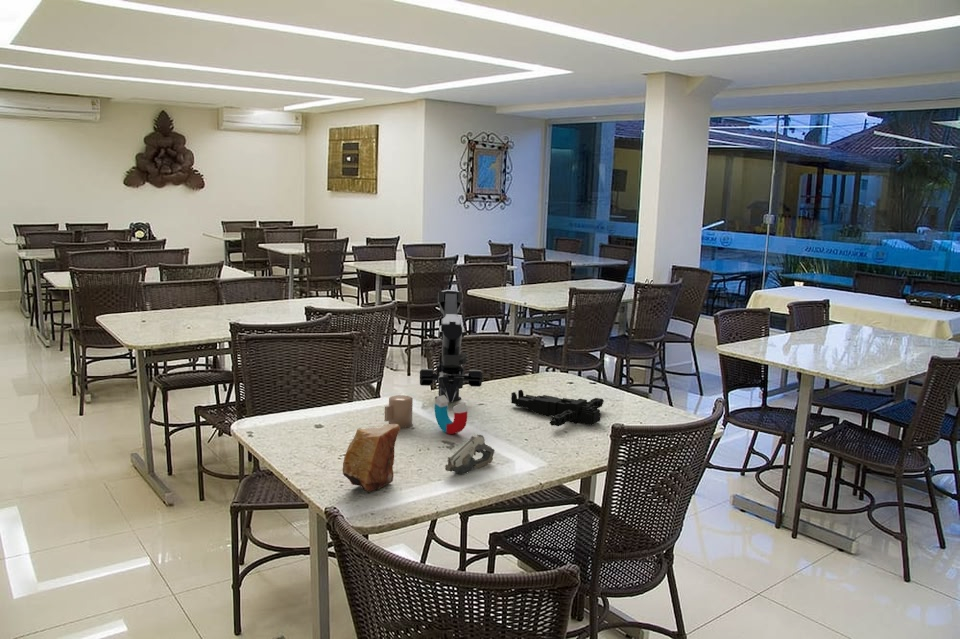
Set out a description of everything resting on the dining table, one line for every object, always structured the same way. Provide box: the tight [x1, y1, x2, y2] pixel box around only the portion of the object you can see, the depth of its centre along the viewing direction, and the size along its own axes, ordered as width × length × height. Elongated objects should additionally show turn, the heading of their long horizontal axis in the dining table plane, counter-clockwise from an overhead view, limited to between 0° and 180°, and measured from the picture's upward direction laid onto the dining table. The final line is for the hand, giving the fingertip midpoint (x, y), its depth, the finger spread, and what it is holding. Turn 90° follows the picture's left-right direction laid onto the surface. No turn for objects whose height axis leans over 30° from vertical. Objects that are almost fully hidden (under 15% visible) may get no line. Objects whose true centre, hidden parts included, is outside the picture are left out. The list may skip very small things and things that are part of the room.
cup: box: [384, 394, 414, 429], centre depth 216 cm, size 7×9×8 cm
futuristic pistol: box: [444, 433, 495, 475], centre depth 185 cm, size 2×15×10 cm, turn 134°
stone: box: [342, 423, 401, 493], centre depth 171 cm, size 14×9×15 cm, turn 130°
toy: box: [510, 389, 605, 427], centre depth 232 cm, size 31×6×30 cm
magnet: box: [434, 395, 468, 435], centre depth 211 cm, size 12×3×10 cm, turn 42°
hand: (450, 402), depth 215 cm, fingers closed
